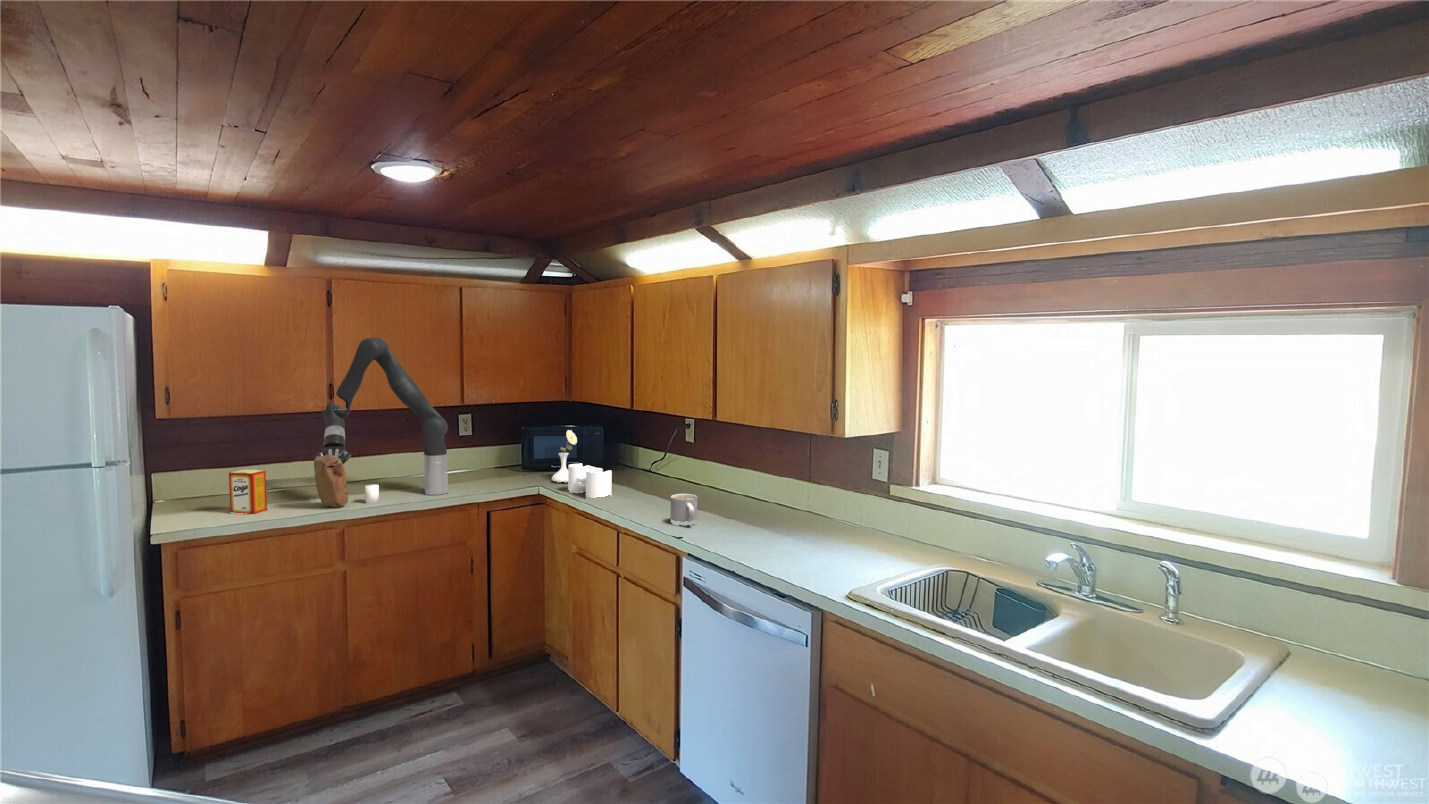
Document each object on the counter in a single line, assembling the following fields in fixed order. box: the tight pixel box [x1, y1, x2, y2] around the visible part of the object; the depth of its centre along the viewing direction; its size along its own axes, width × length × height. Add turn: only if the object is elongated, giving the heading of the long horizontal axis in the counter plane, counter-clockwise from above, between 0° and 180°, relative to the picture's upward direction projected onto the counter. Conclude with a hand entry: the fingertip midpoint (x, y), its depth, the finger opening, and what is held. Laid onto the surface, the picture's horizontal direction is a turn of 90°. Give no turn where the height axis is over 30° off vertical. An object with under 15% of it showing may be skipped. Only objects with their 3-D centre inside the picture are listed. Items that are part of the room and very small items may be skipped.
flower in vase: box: [551, 429, 578, 483], centre depth 321 cm, size 13×11×25 cm
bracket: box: [567, 463, 613, 498], centre depth 294 cm, size 25×10×12 cm, turn 44°
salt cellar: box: [364, 483, 380, 504], centre depth 273 cm, size 5×5×7 cm
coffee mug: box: [670, 493, 698, 522], centre depth 249 cm, size 13×10×10 cm
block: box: [313, 454, 349, 508], centre depth 263 cm, size 11×8×20 cm
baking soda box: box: [228, 469, 268, 515], centre depth 254 cm, size 10×6×16 cm
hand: (332, 473), depth 268 cm, fingers closed
